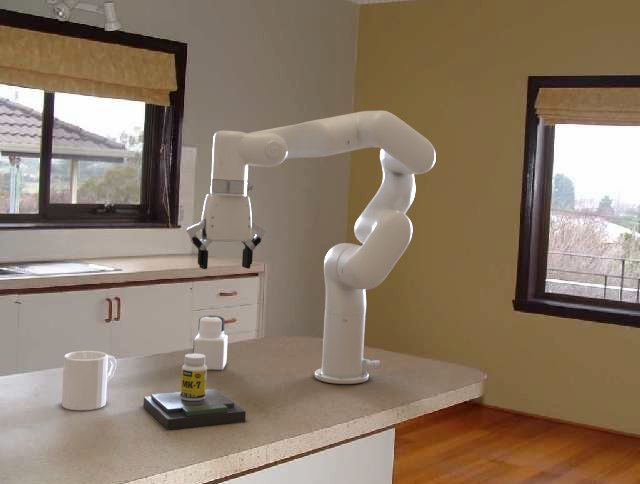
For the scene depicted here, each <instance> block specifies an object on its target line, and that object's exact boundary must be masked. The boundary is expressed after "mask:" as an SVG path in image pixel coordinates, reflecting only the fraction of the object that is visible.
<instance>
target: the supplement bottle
mask: <svg viewBox="0 0 640 484" xmlns="http://www.w3.org/2000/svg"><path fill="white" fill-rule="evenodd" d="M183 361H184V362H183V363H184V364H183V365H182V366H181V378H180V379H181V380H180V392H181V393H180V397H181V399H183V400H186V401H200V400H203V399H204V398H205V392H206V389H207V377H208V376H207V374H208V369H207V367H206V365H204V364H205V362H206V356H205V355H203V354H193V353H187V354H185V355H184V359H183Z"/></svg>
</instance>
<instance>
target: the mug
mask: <svg viewBox="0 0 640 484" xmlns="http://www.w3.org/2000/svg"><path fill="white" fill-rule="evenodd" d="M109 362H110V365H111V366H110V368H109V367H108V365H109ZM62 366H63V370H62V390H61V391H62V392H61V405H62V407H63V408H64V409H66V410H70V411H92V410H98V409H101V408H103V407H105V406H106V405H107V391H108V390H107V389H108V388H107V385H108V382H109V381H111V379H113V377H114V375H115V371H116V368H117V366H118V362H117V359H116V358H115V355H110V354H107V353H105V352H102V351H98V350H97V351H96V350H77V351H72V352H68V353H66V354H65V355H64V356H63V365H62ZM108 368H109V371H108Z"/></svg>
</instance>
